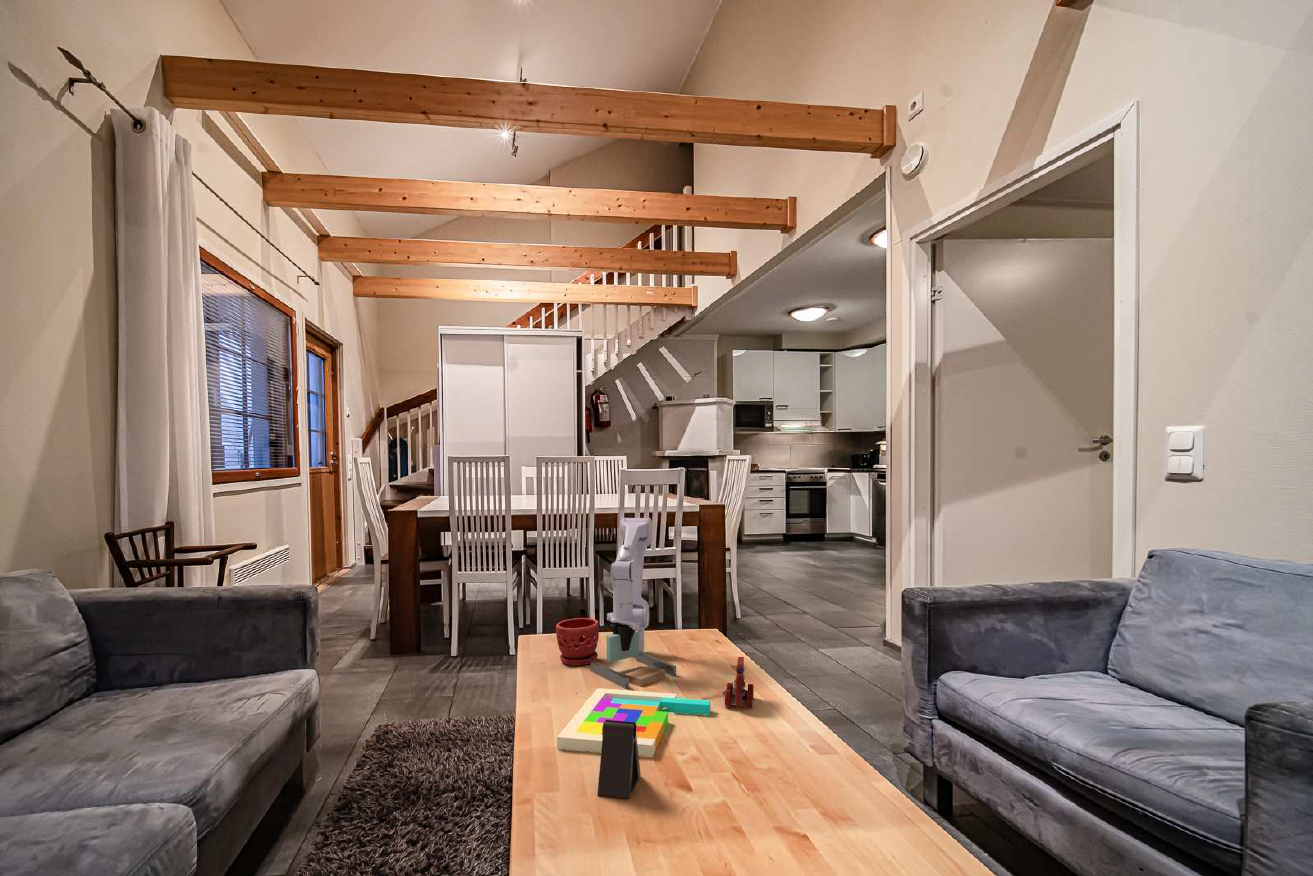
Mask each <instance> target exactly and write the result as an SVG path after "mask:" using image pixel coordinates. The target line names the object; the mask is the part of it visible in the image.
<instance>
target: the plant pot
mask: <svg viewBox="0 0 1313 876" xmlns="http://www.w3.org/2000/svg"><path fill="white" fill-rule="evenodd" d="M599 626H600V625H599V621H598V620H597V619H593V618H588V617H579V618H577V617H575V618H571V619H565V620H562V621H559V622H558V623H557V624H556V626H555V630H556V631H555V632H556V634H555V636H556V641H557V646H558V649H559V652H560V653H561V654H560V656H559V659H560V661H561V662H562V664H565V665H569V666H575V667H577V666H584V665H588V664H591V662H592V661H595V662H596V660H597V659H598V655H599V652H597V651H596V650H597V647H598V643H599V635H600V634H599V632H600V631H599V630H600V627H599Z"/></svg>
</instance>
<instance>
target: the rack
mask: <svg viewBox="0 0 1313 876" xmlns="http://www.w3.org/2000/svg"><path fill="white" fill-rule="evenodd" d="M635 657H636V662H639V663H640V664H642V665H643V664H644V665H646V666H653V667H656V668H659V669H663V670H665V675H668V676H670V677H677V665H675V664H672V663H670V662H667V661H664V659H663V660H662V659H660V658H658V657H655V656H653V655H650V654H648V653H645V652H644V653H643V652H641V651H639V656H635ZM590 672H591V673H594V674H596V675H597V676H600V677H601V678H603V679H605V680H607V681H609V682H610V683H613V684H614V685H617V686H619V687H621V688H622V689H623V690H628V689H630V683H629V677H626V676H625V674H623V673H620V672H618V671H616V670H614V669H612V668H610V667H608V666H606V665H604V664H602V663H599V662H597V661H596V660H595V661H592V662H591V663H590Z"/></svg>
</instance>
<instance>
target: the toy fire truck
mask: <svg viewBox="0 0 1313 876" xmlns="http://www.w3.org/2000/svg"><path fill="white" fill-rule="evenodd" d="M744 663H745V658H744V656H737V664H736V669H735V671H736V675H735V680H734V681H733V682H727V683H726V689H725V690H724V707H726V708H731V707H732V705H735V707H742V706H743V703H745V708H746V709H753V701H754V700H755V699H754V697H755V696H754V693H755V692H754V691H755V689H754V688H755V687H754V684H753V683H748V684H747V685H746V681H745V677H746V676H745V675H744V674H745V666H744V665H745V664H744ZM746 686H747V689H745V688H746Z"/></svg>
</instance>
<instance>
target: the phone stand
mask: <svg viewBox="0 0 1313 876" xmlns="http://www.w3.org/2000/svg"><path fill="white" fill-rule="evenodd" d="M605 721H606V722H604V723H603V728H602V750H601V753H600V761H599V762H600V763H599V771H598V772H599V773H598V775H599V776H598V785H597V797H598V796H599V797H606V798H614V797H615V798H616V799H623V798H625V799H624V800H630V798H631V796H630V795H632V794H633V792H634V790H635V788H636V786H637V784H638V782H639V780H640V778H641V776H642V775H641V766H640V756H639V755H638V746H637V736H636V729H637V727H636V722H626V721H615V720H605ZM634 787H635V788H634ZM631 793H632V794H631ZM629 797H630V798H629Z"/></svg>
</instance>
